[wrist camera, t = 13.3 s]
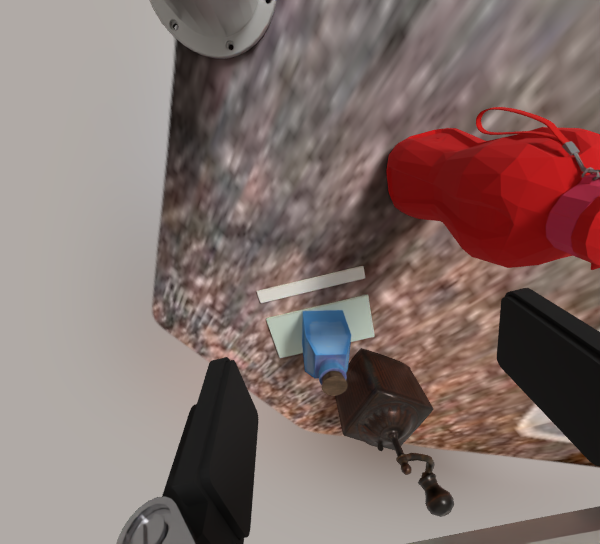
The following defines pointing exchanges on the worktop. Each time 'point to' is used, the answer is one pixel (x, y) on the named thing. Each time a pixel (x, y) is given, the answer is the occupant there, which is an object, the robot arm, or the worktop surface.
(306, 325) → the perfume bottle
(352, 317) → the mat
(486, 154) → the water bottle
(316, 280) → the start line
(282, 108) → the worktop surface
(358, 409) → the dark brown coffee grinder
